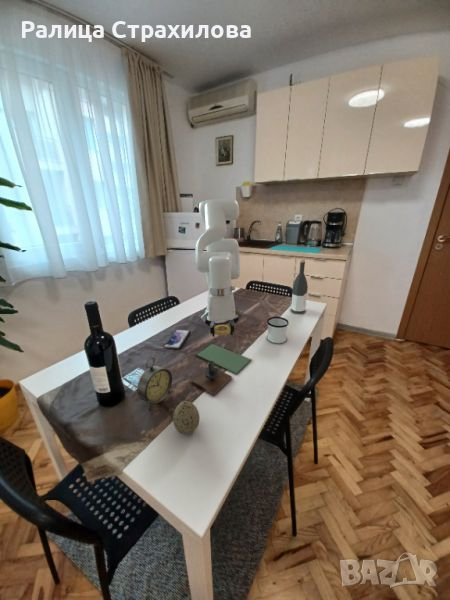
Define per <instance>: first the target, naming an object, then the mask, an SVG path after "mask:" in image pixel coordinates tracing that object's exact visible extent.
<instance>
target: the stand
mask: <svg viewBox="0 0 450 600" xmlns="http://www.w3.org/2000/svg"><path fill="white" fill-rule="evenodd" d="M232 377H233V376H232V375H230V374H228V373H226V372H224V371H222V370H219V369H218V368H217V367H215V364H214V362H213V361H207V368H206V369H204V371H202V372H201V373H199V374H198V375H197V376H196V377H195V378H193V379H192V380H191V384H192V385H194V386H196V387H198V388H199V389H202V390H203V391H205V392H207V393H208V394H209V395H212V396H216V395H217V394H218V393H219V392H220V391H221V390H222V389H223V388H224V387H225V386H226V385H227V384H228V383H229V382H230V381H231V380H232Z"/></svg>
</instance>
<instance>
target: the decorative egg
mask: <svg viewBox="0 0 450 600" xmlns="http://www.w3.org/2000/svg"><path fill="white" fill-rule="evenodd" d="M172 423H173V427H174V428H175V430H176V431H177V432H178V433H179V434H182V435H190V434H192V433H193V432H195V431H196V430H197V428H198V426H199V423H200V413H199V410H198V408H197V406H196V405H195V404H194V403H193V402H191V401H189V400H183V401H181V402H180V403H178V405H177V406H176V407H175V409H174V411H173V415H172Z"/></svg>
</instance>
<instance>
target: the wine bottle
mask: <svg viewBox="0 0 450 600" xmlns="http://www.w3.org/2000/svg"><path fill="white" fill-rule="evenodd" d="M305 266H306V259H305V258H300V261H299V272H298V274H297V276H296V277H295V278H294V281H293V284H292V295H291V305H290V306H291V307H290V311H291V312H292V313H293V314H296V315H297V314H298V315H299V314H300V315H301V314H305V313H306V306H307V296H308V287H309V286H308V280H307V278H306V275H305V268H306V267H305Z"/></svg>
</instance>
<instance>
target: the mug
mask: <svg viewBox="0 0 450 600" xmlns="http://www.w3.org/2000/svg"><path fill="white" fill-rule="evenodd" d="M266 323H267V340H268V341H269V342H271V343H273V344H283V343H285V342H287V341H286V340H287V331H288V326H289V324H290V323H289V319H286V318H285V317H282V316H272V317H271V316H270V317H269V318H267V320H266Z"/></svg>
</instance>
